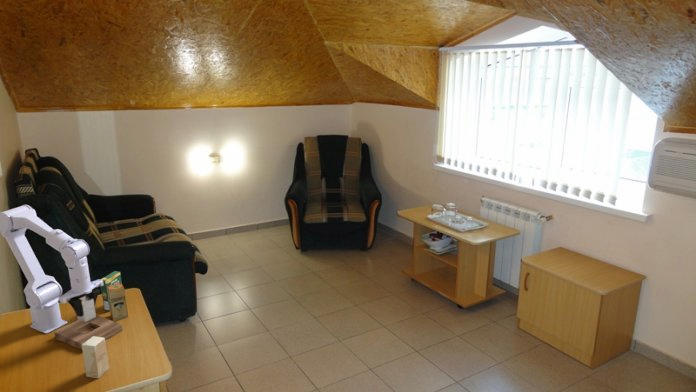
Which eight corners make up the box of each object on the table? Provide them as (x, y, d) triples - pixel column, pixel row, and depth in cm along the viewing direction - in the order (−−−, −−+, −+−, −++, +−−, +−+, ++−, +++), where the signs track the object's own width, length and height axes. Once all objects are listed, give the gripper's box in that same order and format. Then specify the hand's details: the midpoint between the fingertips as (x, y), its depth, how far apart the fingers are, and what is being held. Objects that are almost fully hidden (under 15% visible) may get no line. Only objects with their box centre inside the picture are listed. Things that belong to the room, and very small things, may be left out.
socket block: (55, 338, 164) (54, 332, 163) (92, 319, 176) (91, 313, 175) (85, 351, 157) (84, 345, 156) (122, 330, 169) (121, 324, 168)
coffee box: (109, 312, 180) (105, 280, 177) (103, 310, 181) (98, 279, 177) (125, 301, 188) (121, 271, 184) (119, 300, 189) (115, 270, 185)
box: (98, 379, 144) (93, 347, 141) (85, 377, 145) (80, 345, 142) (110, 368, 149) (105, 337, 146) (97, 366, 150) (92, 335, 146)
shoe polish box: (110, 315, 178) (106, 286, 175) (125, 311, 181) (121, 282, 178) (113, 321, 174) (109, 291, 171) (128, 317, 177) (124, 287, 174)
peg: (77, 319, 163) (74, 300, 161) (88, 313, 167) (85, 295, 165) (85, 322, 162) (82, 303, 160) (96, 316, 165) (93, 298, 163)
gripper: (66, 288, 152) (73, 325, 156) (107, 270, 164) (112, 305, 168) (52, 283, 155) (59, 320, 159) (93, 266, 167) (99, 301, 171)
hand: (85, 312), depth 164 cm, fingers closed on peg, 4 cm apart
